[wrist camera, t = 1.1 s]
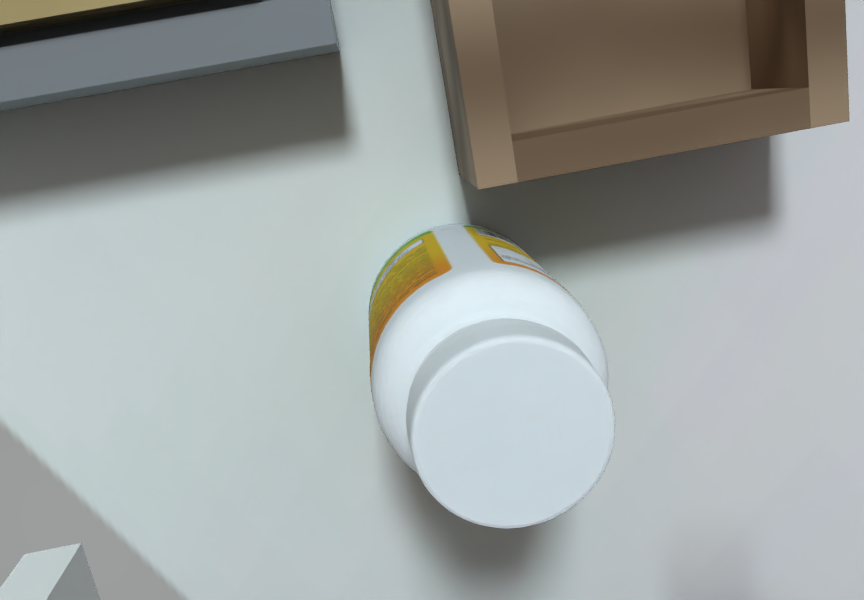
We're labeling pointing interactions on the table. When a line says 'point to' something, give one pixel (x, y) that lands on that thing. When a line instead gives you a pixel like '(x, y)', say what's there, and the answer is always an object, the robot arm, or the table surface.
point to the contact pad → (68, 11)
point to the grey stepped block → (159, 47)
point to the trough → (631, 78)
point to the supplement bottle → (488, 378)
